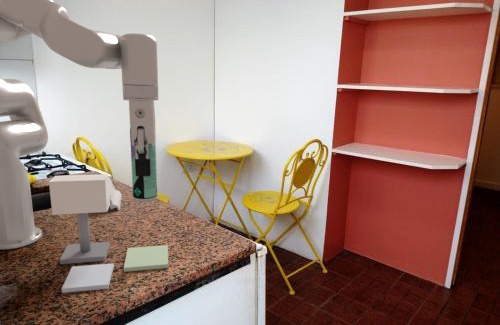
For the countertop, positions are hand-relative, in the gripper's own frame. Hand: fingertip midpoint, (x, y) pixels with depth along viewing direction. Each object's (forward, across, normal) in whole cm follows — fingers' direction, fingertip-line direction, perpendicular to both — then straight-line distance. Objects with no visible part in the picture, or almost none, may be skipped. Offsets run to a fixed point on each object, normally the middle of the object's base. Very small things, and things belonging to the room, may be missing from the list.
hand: (144, 171), depth 85 cm
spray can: (+7, 0, 0) cm, 7 cm away
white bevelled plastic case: (+23, +43, +15) cm, 51 cm away
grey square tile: (+22, -7, +12) cm, 26 cm away
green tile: (+22, 0, 0) cm, 22 cm away
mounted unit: (+22, +5, +15) cm, 27 cm away
